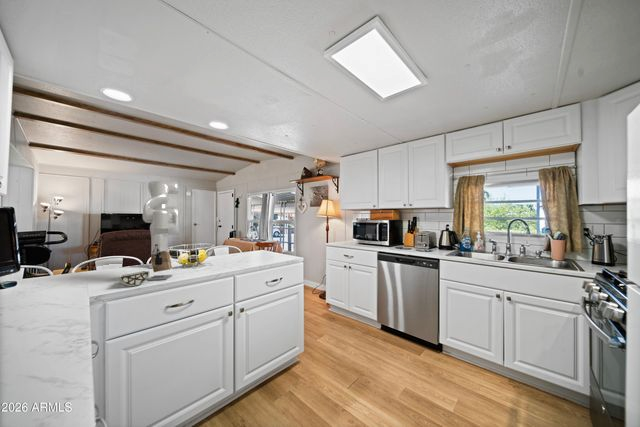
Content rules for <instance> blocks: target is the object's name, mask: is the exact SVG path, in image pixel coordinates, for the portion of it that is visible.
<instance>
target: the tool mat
mask: <svg viewBox="0 0 640 427" xmlns="http://www.w3.org/2000/svg"><path fill="white" fill-rule="evenodd" d="M172 277H173V274H158V275H153V276H151V277H150V278H149V277H148V278H147V279H146V282H154V281H155V282H157V281H158V282H159V281H167V280H168V279H170V278H172Z"/></svg>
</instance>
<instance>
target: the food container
mask: <svg viewBox="0 0 640 427" xmlns="http://www.w3.org/2000/svg"><path fill="white" fill-rule="evenodd" d="M149 275H150V271H148V270H146V271H145V270H143V271H138V272H132V273H127V274H122V275H121V276H118V279H119V282H120V283H121V284H123V285H124V286H127V287H137V286H140V285H142V284H144V282H147V280H148V279H149Z"/></svg>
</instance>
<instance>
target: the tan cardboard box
mask: <svg viewBox="0 0 640 427" xmlns="http://www.w3.org/2000/svg"><path fill="white" fill-rule="evenodd" d="M159 255H160V253H159ZM161 257H162V264H161V265H155V255H154V254H152V255H151V254H150V258H151V259H150V261H151V260H152V266H153V268H152V271H153V273H157V272H162V271H168V270H171V269H172V268H173V266H172V260H171V256H170V251H169V250H168V251H167V252H162V255H161Z"/></svg>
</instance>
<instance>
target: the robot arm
mask: <svg viewBox="0 0 640 427" xmlns="http://www.w3.org/2000/svg"><path fill="white" fill-rule="evenodd" d="M147 186H148V191H149V194H150V196H151V198H150V199H148V200H147V201H145V203H144V204H143V207H142V220H143V222H145V223H149V224H150V225H149V231H150V238H151V240H150V241H151V243H150V244H151V245H150V246H151V249H150V250H151V251H150V256H151V255H152V254H154V255H155V265H161V264H162V257H161V255H162V252H167V251H169V248H168V247H169V240H168V239H169V238H168V236H169V235H170V236H174V235H177V234H179V233H180V229H181V228H180V226H181V225H180V224H181V223H180V221H181V219H180V209H179V207H177V206H170V205H169V206H168V203H169V200H170V199H169V195H171V194H172V195H177V194H179V191H180V185H179V183H178V182H177V181H175V180H174V181H171V180H150V181H149V182H148V185H147ZM159 253H160V255H159ZM147 268H149V269H153V266H152V260H151V259H150V265H148V267H147Z"/></svg>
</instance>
